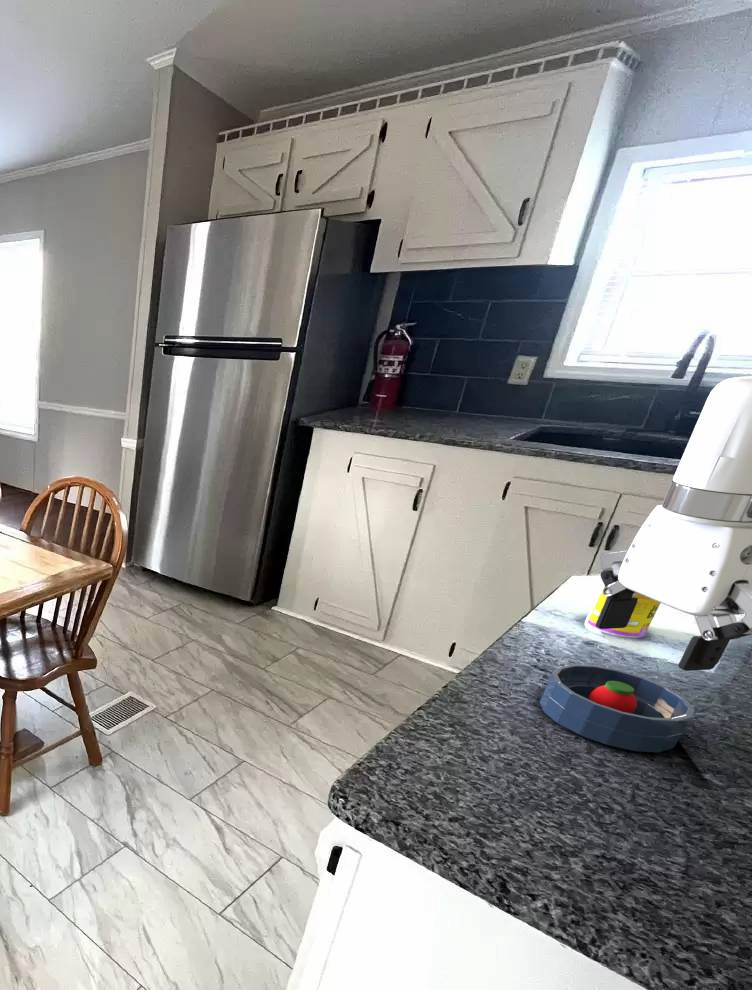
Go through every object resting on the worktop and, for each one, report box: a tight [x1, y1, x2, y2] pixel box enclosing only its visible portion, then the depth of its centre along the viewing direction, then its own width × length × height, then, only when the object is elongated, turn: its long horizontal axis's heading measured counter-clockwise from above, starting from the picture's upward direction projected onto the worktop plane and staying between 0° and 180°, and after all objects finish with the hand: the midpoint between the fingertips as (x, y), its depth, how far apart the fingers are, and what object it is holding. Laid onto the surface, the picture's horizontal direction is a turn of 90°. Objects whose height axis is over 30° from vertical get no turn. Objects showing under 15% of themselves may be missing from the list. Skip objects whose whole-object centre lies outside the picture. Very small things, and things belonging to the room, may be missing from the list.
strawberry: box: [589, 681, 637, 714], centre depth 76 cm, size 4×4×5 cm
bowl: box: [539, 663, 695, 753], centre depth 76 cm, size 12×12×5 cm
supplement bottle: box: [584, 582, 661, 639], centre depth 95 cm, size 7×7×13 cm
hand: (649, 646), depth 73 cm, fingers open, 9 cm apart
